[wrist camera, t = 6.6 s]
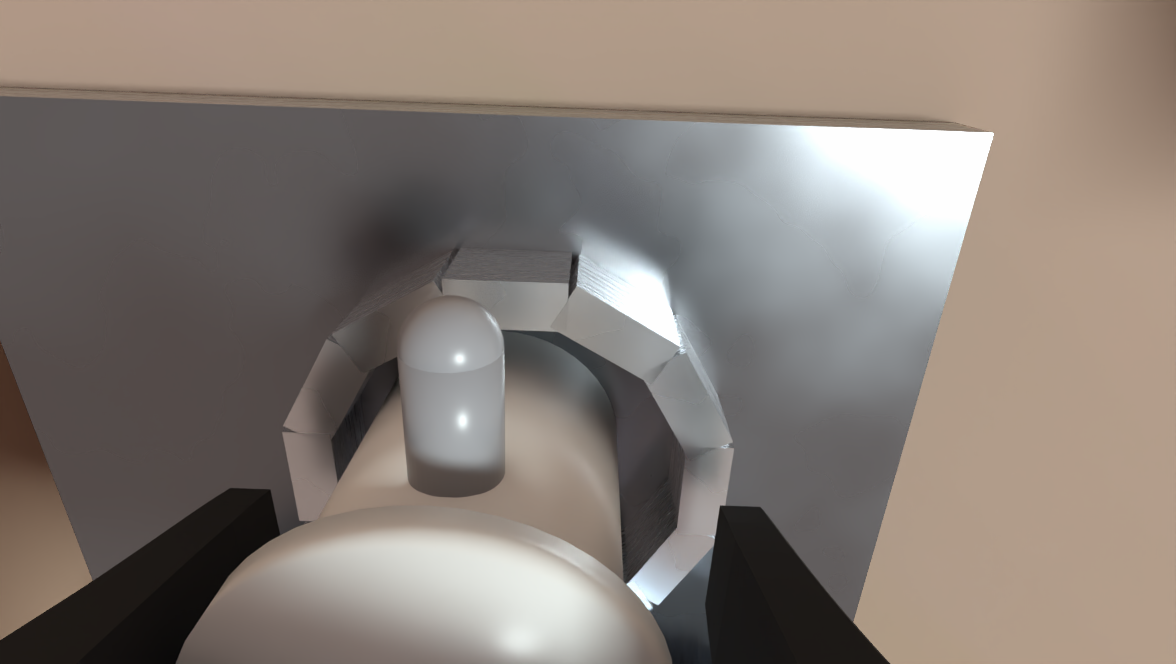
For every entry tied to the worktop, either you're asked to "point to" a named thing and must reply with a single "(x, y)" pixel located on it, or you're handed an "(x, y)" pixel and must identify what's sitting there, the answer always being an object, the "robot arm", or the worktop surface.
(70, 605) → the robot arm
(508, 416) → the white mushroom knob
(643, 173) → the motor mount
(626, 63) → the worktop surface
